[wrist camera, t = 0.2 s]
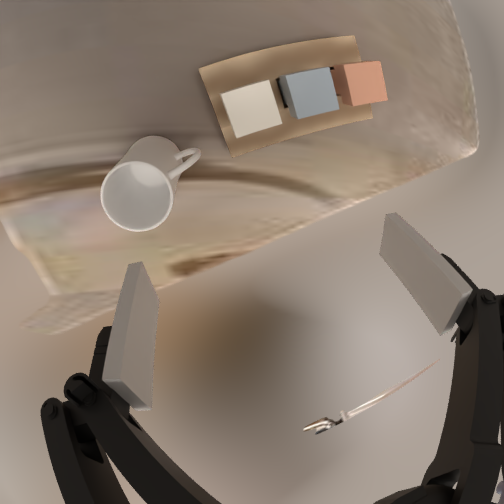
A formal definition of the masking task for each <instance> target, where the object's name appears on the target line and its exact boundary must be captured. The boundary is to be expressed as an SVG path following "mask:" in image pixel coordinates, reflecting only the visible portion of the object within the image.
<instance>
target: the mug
mask: <svg viewBox="0 0 504 504" xmlns="http://www.w3.org/2000/svg"><path fill="white" fill-rule="evenodd" d="M191 154H193V155H192V156H191V157H190V158H189V159H188V160H186V161H185V162H183V160H182V157H185V156H187V155H191ZM200 156H201V151H200V149H199V148H196V147H194V148H189V149H186V150H183V151H181V152H180V151H179V149H178V147H177V146H176V145H175V144H174V143H173V142H172V141H170V140H169V139H167V138H164V137H161V136H147V137H144V138H141V139H139V140H138V141H136V142H135V143H134V144H133V145H132V146H131V147H130V149H129V150H128V152H127V153H126V154H125V156H124V157H123V158H122V159H121V160H120V161H119V162H118V163H117V164H116V165H115V166H114V167H113V168H112V170H111V171H110V172H109V173H108V174H107V176H106V177H105V179H104V181H103V183H102V187H101V203H102V206H103V209H104V211H105V213H106V214H107V216H108V217H109V218H110V219H111V220H112V221H113V222H114V223H115V224H116V225H118V226H119V227H121V228H124V229H126V230H130V231H138V232H139V231H147V230H150V229H153V228H155V227H157V226H159V225H160V224H161V223H162V222H163V221H164V220H165V219H166V218H167V217H168V215H169V213H170V211H171V209H172V205H173V201H174V196H175V191H176V187H177V182H178V179H179V177H180V175H181V173H182V172H183V171H185V170H186V169H188V168H189V167H190V166H192V165H193V164H194V163H195V162H196V161H197V160H198V159H199V158H200Z"/></svg>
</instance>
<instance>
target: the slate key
mask: <svg viewBox="0 0 504 504" xmlns="http://www.w3.org/2000/svg"><path fill="white" fill-rule="evenodd" d="M279 78H280V80H279V81H278V84H279V88H280V91H281V94H282V97H283V101H284V104H286V105H288V108H289V111H290V115H291V116H292V117H294V118H296V119H301V118H305V117H309V116H313V115H317V114H321V113H325V112H330V111H334V110H338V109H339V105H338V100H337V96H336V92H335V87H334V83H333V79H332V76H331V72H330V68H329V67H319V68H314V69H308V70H303V71H299V72H294V73H290V74H285V75H281V76H279Z"/></svg>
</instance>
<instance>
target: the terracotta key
mask: <svg viewBox="0 0 504 504" xmlns="http://www.w3.org/2000/svg"><path fill="white" fill-rule="evenodd" d="M333 66H334V69H332V70H330V72H331V76H332V79H333V83H334V87H335V92H336V94H339V95H341V98H342V103H343V104H346V105H350V106H358V105H363V104H368V103H374V102H379V101H386V100H388V99H387V93H386V88H385V82H384V77H383V72H382V68H381V63H380V61H361V62H353V63H345V64H338V65H333Z"/></svg>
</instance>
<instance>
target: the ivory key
mask: <svg viewBox="0 0 504 504" xmlns="http://www.w3.org/2000/svg"><path fill="white" fill-rule="evenodd" d="M219 94H220V97H221V99H222V102H223V105H224V107H225V110H226V113H227V116H228V118H229V121H230V124H231V127H232V130H233V132H234V135H235V136H236V138H239V137H242V136H245V135H248V134H251V133H254V132H257V131H260V130H264V129H267V128H270V127H273V126H277V125H280V124H282V121H281V117H280V114H279V111H278V107H277V104H276V101H275V98H274V94H273V91H272V88H271V85H270V82H269V80H262V81H258V82H254V83H251V84H248V85H244V86H241V87H238V88H235V89H231V90H228V91H225V92H222V93H219Z"/></svg>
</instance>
